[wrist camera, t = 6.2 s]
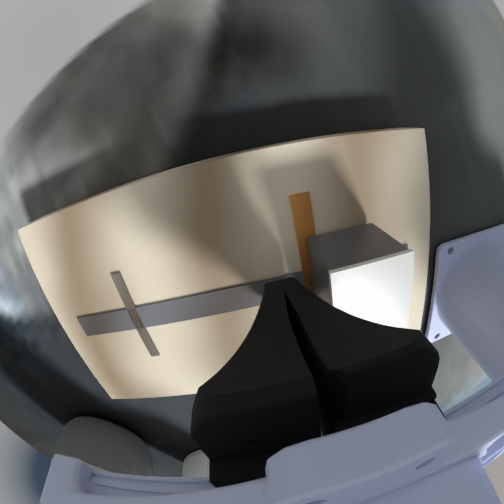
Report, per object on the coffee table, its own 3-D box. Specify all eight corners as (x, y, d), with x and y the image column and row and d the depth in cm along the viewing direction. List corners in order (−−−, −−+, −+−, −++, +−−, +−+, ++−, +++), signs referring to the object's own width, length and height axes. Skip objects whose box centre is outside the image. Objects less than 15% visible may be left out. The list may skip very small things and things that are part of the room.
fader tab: (372, 221, 11) (414, 250, 8) (374, 306, 13) (404, 348, 10) (304, 236, 11) (330, 273, 8) (316, 323, 13) (336, 371, 10)
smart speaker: (71, 391, 18) (23, 530, 5) (170, 434, 20) (159, 576, 7) (65, 430, 20) (34, 532, 8) (141, 463, 23) (129, 567, 10)
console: (401, 127, 12) (425, 128, 10) (404, 318, 17) (419, 336, 15) (37, 218, 12) (16, 230, 10) (119, 378, 17) (111, 399, 15)
